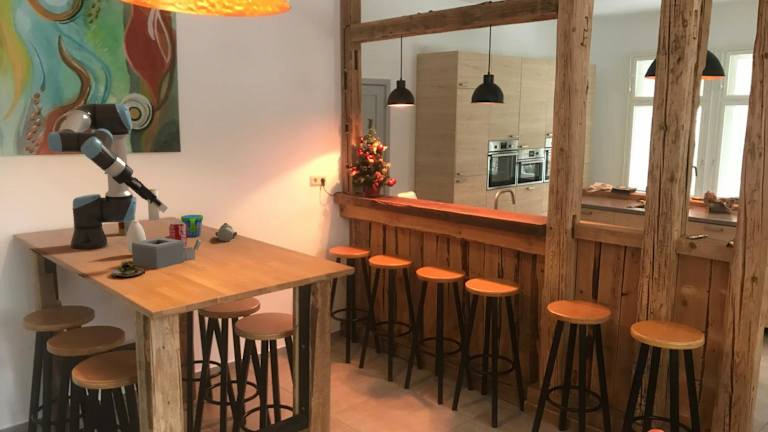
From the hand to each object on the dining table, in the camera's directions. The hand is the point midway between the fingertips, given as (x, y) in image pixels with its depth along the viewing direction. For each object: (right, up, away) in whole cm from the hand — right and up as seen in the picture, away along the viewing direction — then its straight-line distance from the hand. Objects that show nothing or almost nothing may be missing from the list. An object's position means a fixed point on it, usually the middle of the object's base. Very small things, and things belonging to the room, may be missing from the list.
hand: (163, 209), depth 246 cm
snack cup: (-7, -13, +59) cm, 61 cm away
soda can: (-2, -19, +24) cm, 31 cm away
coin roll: (-3, -4, -2) cm, 5 cm away
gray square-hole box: (-2, -22, +2) cm, 22 cm away
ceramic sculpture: (+12, -15, +52) cm, 55 cm away
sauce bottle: (-17, -20, +15) cm, 30 cm away
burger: (-7, -26, -16) cm, 31 cm away
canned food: (-41, -12, +61) cm, 75 cm away
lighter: (+9, -21, +11) cm, 25 cm away
